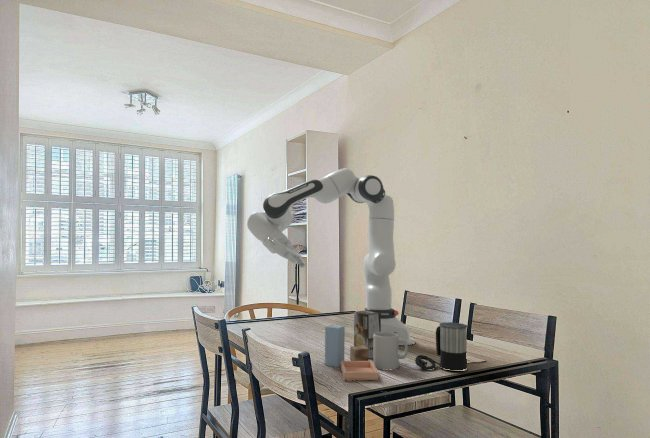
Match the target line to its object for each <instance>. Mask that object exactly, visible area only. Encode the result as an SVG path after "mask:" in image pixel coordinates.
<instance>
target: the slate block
mask: <svg viewBox="0 0 650 438" xmlns="http://www.w3.org/2000/svg"><path fill="white" fill-rule="evenodd" d="M324 329H325V330H324V331H325V332H324V333H325V334H324V338H325V339H324V342H325V343H324V347H325V348H324V365H325V366H327V365H328V366H327V367H335V368H339V367H341V361H345V334H346V333H345V331H346V330H345V329H346V327H345V325H338V324H337V325H336V324H335V325H334V324H330V325H328V326H327V325H326V326H325V328H324Z"/></svg>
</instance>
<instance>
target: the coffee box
mask: <svg viewBox="0 0 650 438" xmlns="http://www.w3.org/2000/svg"><path fill="white" fill-rule="evenodd" d="M378 332H381V313H376V312H371V311H365V310H358V311H353V346H365V347H366V348H368V349H369V355H368V359H373V335H374V333H378Z"/></svg>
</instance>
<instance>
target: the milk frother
mask: <svg viewBox="0 0 650 438" xmlns="http://www.w3.org/2000/svg"><path fill="white" fill-rule="evenodd" d="M467 328H468V325H467V324H464V323H461V322H453V321H452V322H451V321H448V322H447V321H446V322H441V323H439V325H438V326H437V327H436V329H435V347H436V350H435V351H436V356H439V357H440V358H439V362H437V361H435V360H434V359H433V358H431V357H429V356H427V355H422V354H419V355H417V356H416V357H415V358H414V359H415V360H414V362H415V364H416V366H417V367H419V368H423V369H422V370H427V369H432V370H434V369H436V365H439V366H440V367H442V368H445V369H450V370H463V369H466V368H467V369H468V364H467V359H466V353H467V343H468V341H467V340H468V339H467V335H468V334H467V333H468V331H467ZM428 362H429V363H430V364H431V365H428ZM440 367H439V368H440ZM433 368H434V369H433Z"/></svg>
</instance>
